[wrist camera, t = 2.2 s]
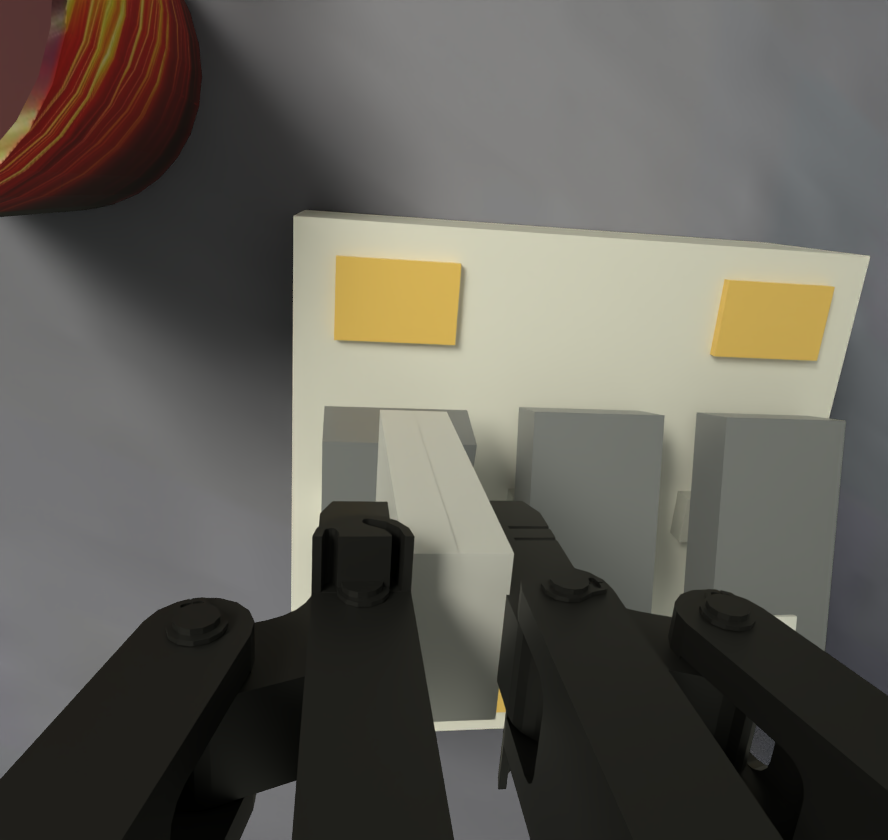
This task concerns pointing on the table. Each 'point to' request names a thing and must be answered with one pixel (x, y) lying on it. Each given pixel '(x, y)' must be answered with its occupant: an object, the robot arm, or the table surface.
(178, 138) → the mug
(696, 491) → the block
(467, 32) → the table surface
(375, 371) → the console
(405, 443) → the robot arm
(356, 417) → the block
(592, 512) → the block
